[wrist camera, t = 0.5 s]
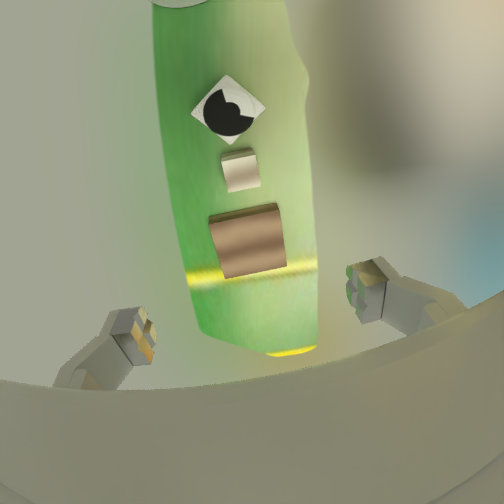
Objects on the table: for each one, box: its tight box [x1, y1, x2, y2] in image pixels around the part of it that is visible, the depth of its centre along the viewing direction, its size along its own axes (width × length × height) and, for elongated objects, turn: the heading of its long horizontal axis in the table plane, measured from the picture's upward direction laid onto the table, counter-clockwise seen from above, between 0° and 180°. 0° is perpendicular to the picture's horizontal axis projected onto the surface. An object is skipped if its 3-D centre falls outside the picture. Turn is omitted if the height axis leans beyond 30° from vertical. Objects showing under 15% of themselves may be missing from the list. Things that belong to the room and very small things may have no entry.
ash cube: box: [221, 148, 261, 193], centre depth 41 cm, size 5×5×5 cm
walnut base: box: [209, 203, 287, 279], centre depth 50 cm, size 12×12×3 cm
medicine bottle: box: [191, 75, 265, 144], centre depth 33 cm, size 7×7×12 cm
